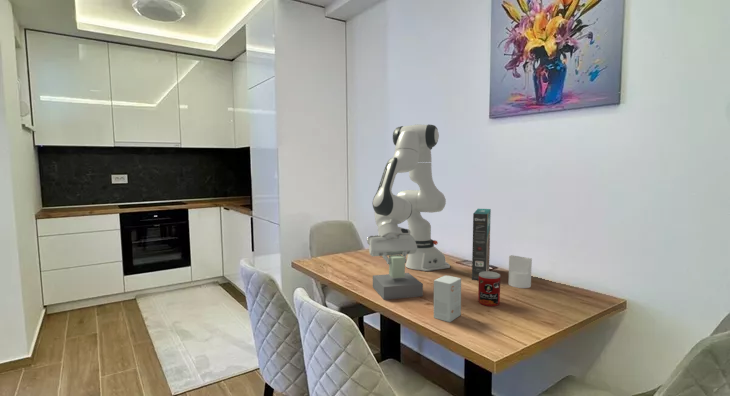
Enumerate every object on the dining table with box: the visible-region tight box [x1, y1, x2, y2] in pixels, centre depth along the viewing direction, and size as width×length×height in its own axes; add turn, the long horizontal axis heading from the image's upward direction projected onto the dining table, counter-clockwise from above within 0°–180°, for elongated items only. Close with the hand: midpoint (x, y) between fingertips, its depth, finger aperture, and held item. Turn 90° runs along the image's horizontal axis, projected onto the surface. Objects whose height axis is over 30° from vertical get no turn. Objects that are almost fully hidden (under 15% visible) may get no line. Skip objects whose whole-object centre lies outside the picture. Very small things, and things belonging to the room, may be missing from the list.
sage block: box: [388, 255, 406, 278], centre depth 154 cm, size 5×5×8 cm
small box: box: [433, 274, 462, 323], centre depth 128 cm, size 8×6×13 cm
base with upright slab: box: [507, 254, 533, 289], centre depth 163 cm, size 9×9×12 cm
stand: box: [372, 272, 424, 301], centre depth 154 cm, size 16×16×5 cm
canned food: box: [477, 270, 501, 307], centre depth 141 cm, size 8×8×11 cm
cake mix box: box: [471, 208, 492, 281], centre depth 178 cm, size 22×6×30 cm, turn 158°
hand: (397, 263), depth 154 cm, fingers closed on sage block, 5 cm apart
